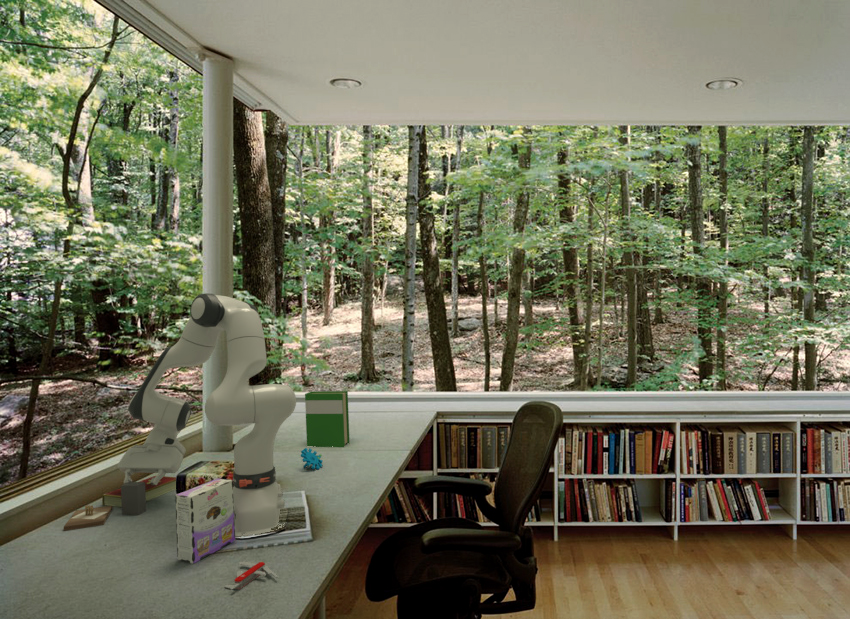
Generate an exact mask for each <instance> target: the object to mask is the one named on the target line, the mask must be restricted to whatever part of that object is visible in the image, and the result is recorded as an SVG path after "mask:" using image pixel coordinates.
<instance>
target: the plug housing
mask: <svg viewBox="0 0 850 619" xmlns="http://www.w3.org/2000/svg"><path fill="white" fill-rule="evenodd" d="M120 488H121V503H122V507H121V515H122V516H123V515H124V516H140V515H141V514H143V513H144V512H146V511H147V501H146V492H145V482H139V481H132V482H128V483H125V484H124V483H123V484H121V485H120Z"/></svg>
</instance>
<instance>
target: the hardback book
mask: <svg viewBox="0 0 850 619" xmlns="http://www.w3.org/2000/svg"><path fill="white" fill-rule="evenodd" d="M348 394H349V392H348V390H332V391H331V390H328V391H327V390H320V391H318V390H313V391H309V392H307V393H305V394H304V401H305V402H304V403H305V405H304V407H305V427H306V428H305V430H306V433H305V434H306V447H307V446H313V447H312V448H345V447H346V446H345V445H346V443H349V442H350V422H349V421H350V419H349V395H348ZM349 444H350V443H349ZM314 446H316V447H314ZM332 446H333V447H332ZM344 446H345V447H344Z"/></svg>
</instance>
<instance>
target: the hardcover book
mask: <svg viewBox="0 0 850 619" xmlns="http://www.w3.org/2000/svg"><path fill="white" fill-rule="evenodd" d="M157 475H158V474H156V475H154V476H151V477H148V478H145V479H142V480H140V481H138V482H145V492H146V502H147V501H150V500H153V499H157V498H158V497H160V496H163V495H165V494H167V493H168V494H169V493H170V492H172V491H175V490H177V489H176V477H177V476H166V475H165V476H164V477H163V478H162V479H161V480H159V482H158V484H157V485H152V484H150V481H151V479H152V478H155V477H156V476H157ZM101 498H102V500H101V501H102V506H111V505H113V507H118V508H119V507H120V508H122V503H121V487H120V488H117V489H114V490H113V491H109V492H106V493H104V494H102V497H101Z"/></svg>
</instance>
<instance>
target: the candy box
mask: <svg viewBox="0 0 850 619" xmlns="http://www.w3.org/2000/svg"><path fill="white" fill-rule="evenodd" d="M233 487H234V485H233V479H228V478H227V479H226V478H218V477H217V478H215V479H212V480H210V481H207V482H205V483H202V484H200V485H197V486H195V487H192V488H190V489H187V490H184V491H183V492H180V493H177V494H175V498H174V499H175V520H176V521H175V523H176V524H175V525H176V552H177V553H176V554H177V560H178V561H180V562H184V563H188V564H191V565H194V564H195V563H197V562H199V561H201V560H202V559H205V558H206V557H208V556H210V555H212V554H214V553H215V552H217V551H219V550H221V549H223V548H225V547H226V546H228V545H230V544H232V543H234V542H235V541H236V539H235V523H234V502H233ZM234 540H235V541H234ZM233 541H234V542H233Z"/></svg>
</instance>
